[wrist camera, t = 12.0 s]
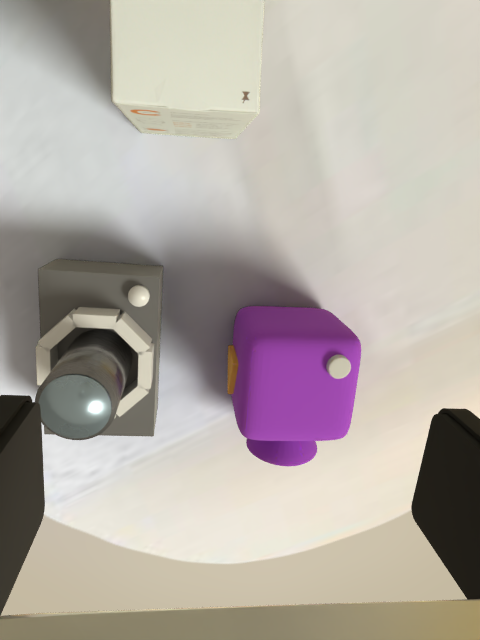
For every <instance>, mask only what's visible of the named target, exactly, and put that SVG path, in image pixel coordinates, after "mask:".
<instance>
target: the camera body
mask: <svg viewBox="0 0 480 640" xmlns="http://www.w3.org/2000/svg"><path fill="white" fill-rule="evenodd" d="M38 284H39V309H40V334H41V339H40V340H39V341H38V342H37V343H39V344H38V345H37V346H36V369H37V385H41V384H42V383H43V382H44V380H45V379H46V377H47V376H48V375H49V373H50V372H51V371H52V369H53V368H54V367H55V365H56V364H57V363H58V361H59V360H60V359H61V357H62V356H63V355H64V353H65V352H66V351H67V349H68V348H69V346H70V345H71V344H72V342H73V341H74V340H75V339H76V338H77V337H78V336H79V335H80V334H82V333H84V332H86V331H89V330H93V329H104V330H109V331H112V332H114V333H116V334H118V335H119V336H120V337H122V338H123V339H124V340H125V341H126V343H127V344H128V346H129V348H130V350H131V354H132V365H131V368H130V371H129V375H128V378H127V381H126V384H125V387H124V390H123V393H122V396H121V400H120V403H119V406H118V409H117V412H116V415H115V418H114V420H113V422H112V423H111V425H110V426H109V427H108V428H107V429H106V430H105V431H104V432H102V433H101V434H99V435H112V436H154V429H155V422H156V415H157V408H158V383H159V358H160V334H161V309H162V284H163V266H154V265H140V264H125V263H111V262H96V261H82V260H67V259H56V260H54V261H52V262H50V263H48V264H47V265H45V266H43V267H41V268H39V269H38ZM44 434H54V433H52V432H51V431H50V430H48V429H47V428H46V427H45V426H44Z"/></svg>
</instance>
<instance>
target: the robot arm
mask: <svg viewBox="0 0 480 640" xmlns="http://www.w3.org/2000/svg"><path fill="white" fill-rule="evenodd" d="M44 507H45V500H44V477H43V453H42V429H41V408H40V404H39V403H35V402H32V399H31V397H30V396H18V395H1V396H0V615H1V613H2V611H3V608H4V606H5V604H6V602H7V599H8V597H9V595H10V593H11V590H12V588H13V586H14V583H15V581H16V579H17V577H18V574H19V572H20V570H21V567H22V565H23V563H24V561H25V558H26V556H27V554H28V552H29V549H30V547H31V545H32V543H33V540H34V538H35V536H36V533H37V531H38V529H39V527H40V524H41V521H42V519H43V515H44ZM412 515H413V518H414V520H415V522H416V523H417V525H418V526H419V528H420V529H421V531H422V532H423V534H424V535H425V537H426V538H427V540H428V541H429V543H430V544H431V546H432V547H433V549H434V550H435V551H436V553H437V554H438V556H439V557H440V559H441V560H442V562H443V563H444V565H445V566H446V568H447V569H448V571H449V572H450V574H451V575H452V577H453V578H454V580H455V581H456V583H457V584H458V586H459V587H460V589H461V590H462V592H463V593H464V595H465V596H466V598H467V599H468V600H437V601H402V602H368V603H337V604H335V603H334V604H301V605H268V606H236V607H202V608H176V609H175V608H174V609H146V610H121V611H120V610H118V611H92V612H62V613H38V614H37V613H36V614H21V615H8V616H0V640H480V419H479V418H478V417H477V416H475V415H474V414H473V413H472V412H470V411H469V410H467V409H445V408H443V409H442V410H440V412H439V413H438V414H436V415H434V416H433V418H432V421H431V425H430V429H429V434H428V438H427V442H426V446H425V450H424V455H423V459H422V463H421V467H420V472H419V476H418V480H417V484H416V489H415V493H414V497H413V501H412Z"/></svg>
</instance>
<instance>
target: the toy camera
mask: <svg viewBox="0 0 480 640" xmlns="http://www.w3.org/2000/svg"><path fill="white" fill-rule="evenodd" d="M360 358H361V344H360V341H359V339H358V337H357V336H356V335H355V334H354V333H353V332H352V331H351V330H350V329H349V328H348V327H347V326H346V325H345V324H344V323H342V322H341V321H340V320H339V319H338V318H337V317H336V316H335V315H333V314H332V313H331V312H329V311H327V310H324V309H318V308H302V307H274V306H249V307H244V308H242V309H240V310H239V311H238V313H237V315H236V318H235V323H234V333H233V345H228V394H231V396H232V401H233V406H234V411H235V416H236V421H237V424H238V428H239V430H240V432H241V433H242V435H243V436H244V437H246V438H247V442H246V443H247V447H248V449H249V451H250V452H251V453H252V454H253V455H255V456H256V457H257V458H259V459H261V460H263V461H265V462H268V463H271V464H275V465H279V466H297V465H301V464H304V463H307V462H308V461H310V460H311V459H313V458H314V456H315V455H316V453H317V445H316V442H315V441H323V440H336V439H340V438H343V437H344V436H345V435H346V434H347V432H348V430H349V427H350V423H351V418H352V412H353V406H354V399H355V393H356V386H357V379H358V373H359V366H360Z"/></svg>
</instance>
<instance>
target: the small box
mask: <svg viewBox="0 0 480 640" xmlns="http://www.w3.org/2000/svg"><path fill="white" fill-rule="evenodd" d="M263 15H264V0H110V46H111V101H112V102H113V103H114V104H115V105H116V106H117V107H118V108H119V109H120V111H121V112H122V113H123V114H124V115H125V116H126V117H127V118H128V119H129V120H130V122H131V123H132V124H133V125H134V126H135V127H136V128H137V129H138V130H139V131H140V132H141V133H148V134H161V135H176V136H191V137H207V138H224V139H236V138H237V137H238V136H239V135H240V134H241V133H242V132H243V130H244V129H245V128H246V127H247V126H248V125H249V124H250V123H251V122H252V121H253V120H254V118H255V117H256V116H257V115H258V114H259V112H260V82H261V58H262V36H263Z"/></svg>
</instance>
